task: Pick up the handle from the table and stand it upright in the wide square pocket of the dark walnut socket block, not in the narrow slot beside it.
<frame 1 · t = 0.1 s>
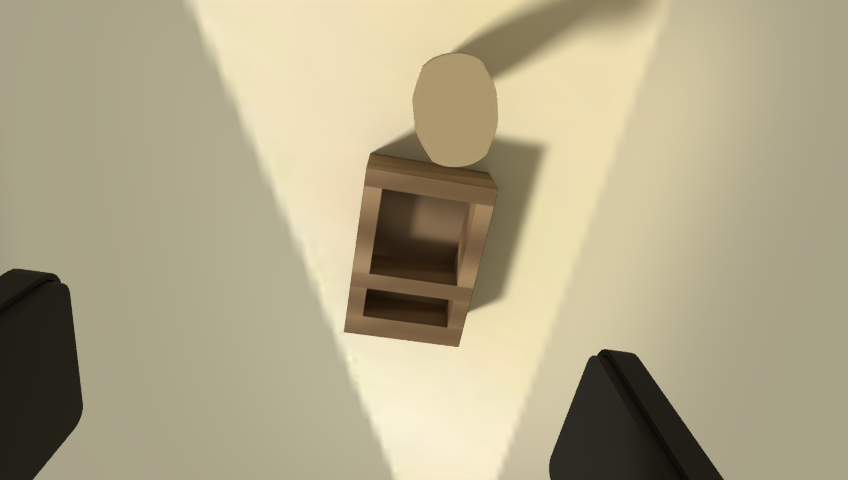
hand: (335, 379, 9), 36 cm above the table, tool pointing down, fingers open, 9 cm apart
socket block: (415, 242, 48), on the table
handle: (439, 83, 42), on the table
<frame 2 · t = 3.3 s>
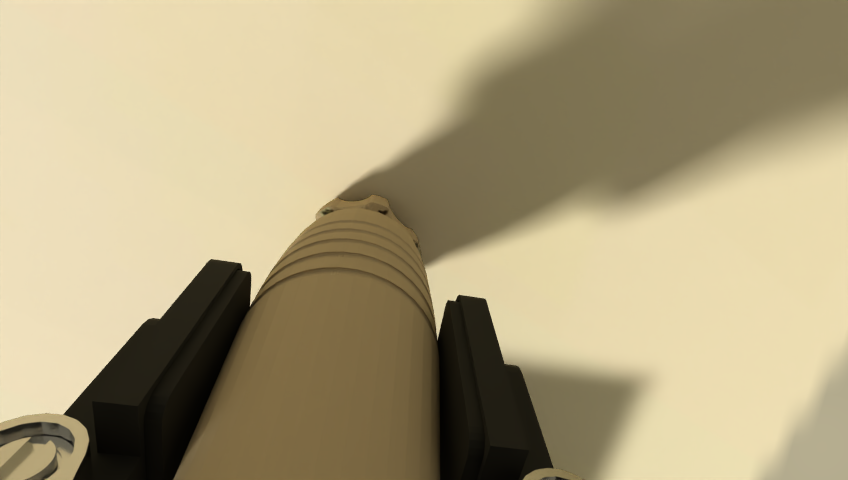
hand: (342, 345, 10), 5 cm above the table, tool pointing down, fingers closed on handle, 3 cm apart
handle: (363, 238, 15), on the table, touching gripper
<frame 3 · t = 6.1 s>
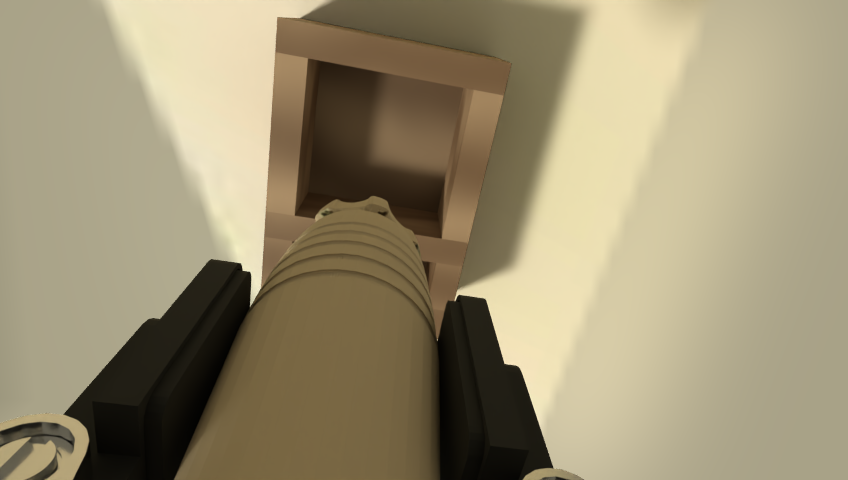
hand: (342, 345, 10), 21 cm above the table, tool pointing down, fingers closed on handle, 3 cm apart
socket block: (378, 174, 31), on the table
handle: (363, 239, 15), point 16 cm above the table, touching gripper
when the fingers open (7 cm above the table, at t = 9.0 s): handle stays where it is, resting on socket block.
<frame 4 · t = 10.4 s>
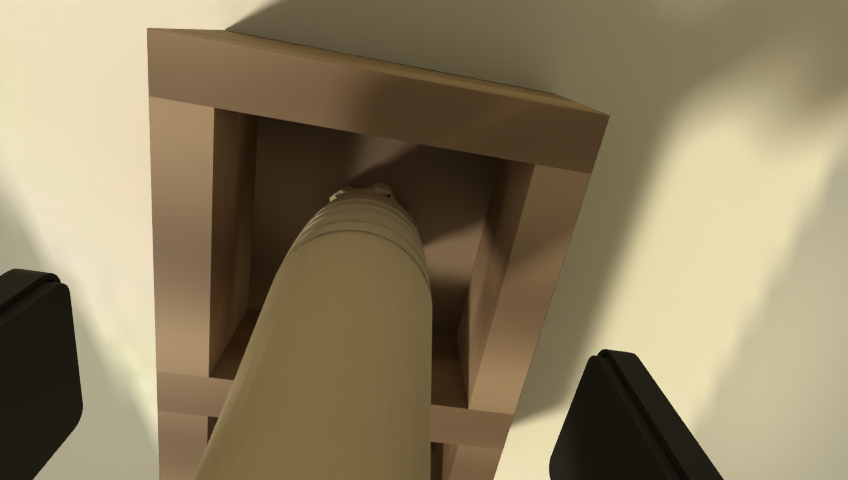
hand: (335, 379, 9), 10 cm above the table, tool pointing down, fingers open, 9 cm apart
socket block: (361, 276, 19), on the table
handle: (369, 220, 17), point 1 cm above the table, touching socket block
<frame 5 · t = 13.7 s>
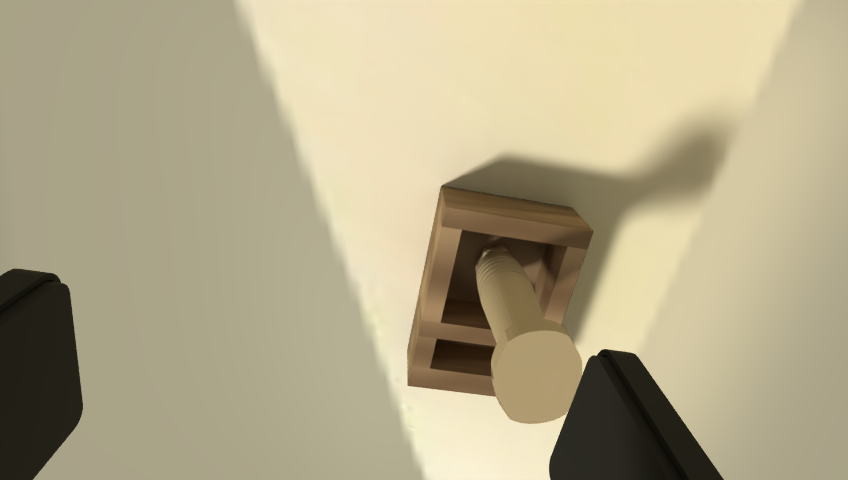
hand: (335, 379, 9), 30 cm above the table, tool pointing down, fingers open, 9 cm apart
socket block: (484, 282, 43), on the table
handle: (493, 259, 41), point 1 cm above the table, touching socket block
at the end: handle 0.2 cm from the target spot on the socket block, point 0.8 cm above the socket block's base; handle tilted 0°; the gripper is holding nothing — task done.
